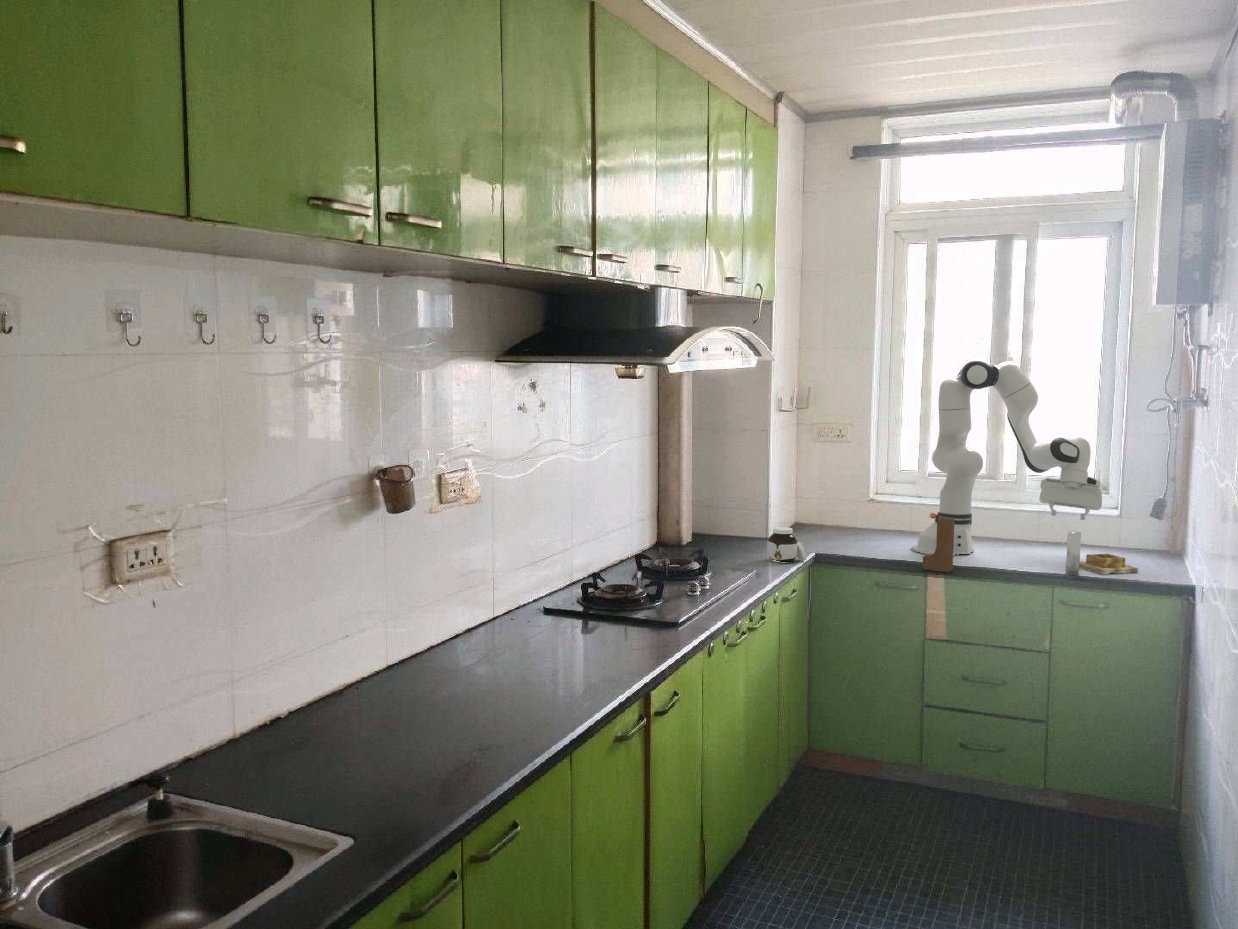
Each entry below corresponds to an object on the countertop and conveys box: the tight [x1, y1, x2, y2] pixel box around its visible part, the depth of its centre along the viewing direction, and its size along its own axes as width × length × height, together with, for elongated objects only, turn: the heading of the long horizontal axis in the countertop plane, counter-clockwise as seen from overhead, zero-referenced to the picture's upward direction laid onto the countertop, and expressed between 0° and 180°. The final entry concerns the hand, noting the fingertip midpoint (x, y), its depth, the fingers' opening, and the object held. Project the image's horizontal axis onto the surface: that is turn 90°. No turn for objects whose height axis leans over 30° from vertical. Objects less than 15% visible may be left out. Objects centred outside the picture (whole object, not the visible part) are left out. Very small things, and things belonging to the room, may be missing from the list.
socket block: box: [1079, 552, 1139, 575], centre depth 337 cm, size 14×14×4 cm
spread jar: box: [767, 526, 807, 563], centre depth 349 cm, size 12×11×12 cm
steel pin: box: [1065, 530, 1082, 576], centre depth 329 cm, size 4×4×14 cm
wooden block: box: [921, 517, 955, 573], centre depth 334 cm, size 9×4×18 cm, turn 52°
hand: (1067, 517), depth 350 cm, fingers open, 8 cm apart
